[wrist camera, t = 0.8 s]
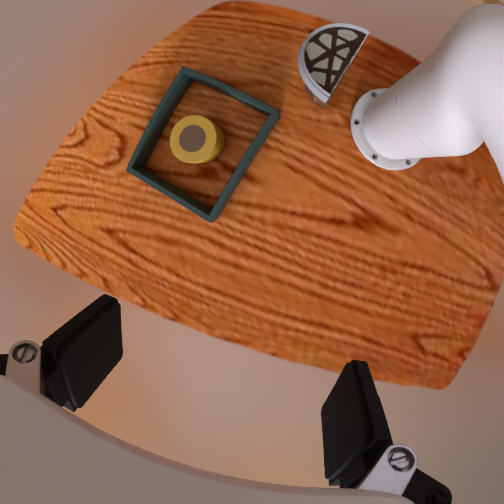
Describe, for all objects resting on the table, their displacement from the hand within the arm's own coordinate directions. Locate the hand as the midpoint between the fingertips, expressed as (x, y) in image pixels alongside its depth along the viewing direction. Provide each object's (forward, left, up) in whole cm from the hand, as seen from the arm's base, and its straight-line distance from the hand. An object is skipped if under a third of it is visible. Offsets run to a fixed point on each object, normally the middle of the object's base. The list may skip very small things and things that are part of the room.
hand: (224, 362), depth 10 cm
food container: (-23, -6, -31) cm, 39 cm away
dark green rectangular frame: (-5, -15, -31) cm, 35 cm away
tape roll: (-5, -15, -31) cm, 35 cm away
